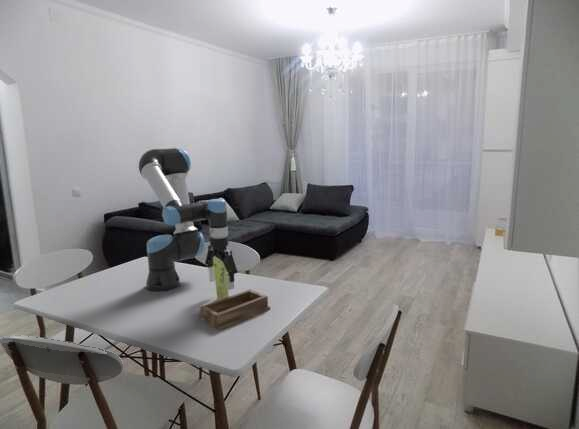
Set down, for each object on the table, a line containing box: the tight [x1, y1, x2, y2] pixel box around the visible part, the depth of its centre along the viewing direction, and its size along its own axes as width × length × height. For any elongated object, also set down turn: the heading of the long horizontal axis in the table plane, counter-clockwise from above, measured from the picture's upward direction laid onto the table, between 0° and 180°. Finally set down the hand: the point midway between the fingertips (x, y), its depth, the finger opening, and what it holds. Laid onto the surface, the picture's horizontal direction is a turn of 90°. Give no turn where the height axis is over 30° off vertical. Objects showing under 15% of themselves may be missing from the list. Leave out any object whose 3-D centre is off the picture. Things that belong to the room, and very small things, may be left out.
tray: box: [198, 289, 271, 331], centre depth 153 cm, size 14×24×5 cm, turn 134°
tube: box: [213, 256, 230, 301], centre depth 166 cm, size 6×5×20 cm
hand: (221, 284), depth 167 cm, fingers open, 13 cm apart
